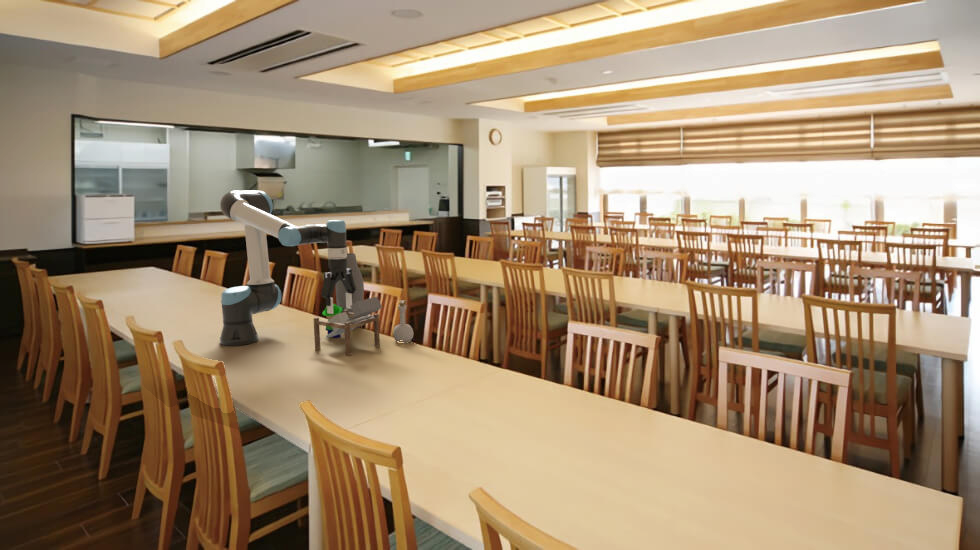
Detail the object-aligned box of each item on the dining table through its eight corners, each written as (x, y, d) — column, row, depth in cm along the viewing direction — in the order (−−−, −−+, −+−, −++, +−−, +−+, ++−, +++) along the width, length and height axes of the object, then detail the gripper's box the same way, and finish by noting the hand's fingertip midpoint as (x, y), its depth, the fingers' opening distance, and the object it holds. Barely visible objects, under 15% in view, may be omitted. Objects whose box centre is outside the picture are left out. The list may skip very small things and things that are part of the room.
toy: (347, 335, 261) (346, 302, 259) (336, 339, 253) (335, 306, 251) (330, 333, 264) (329, 301, 262) (319, 338, 256) (317, 305, 253)
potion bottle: (415, 338, 254) (414, 298, 251) (410, 344, 246) (409, 302, 243) (395, 338, 255) (394, 298, 252) (390, 344, 246) (389, 302, 244)
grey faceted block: (326, 338, 236) (321, 326, 237) (351, 330, 248) (345, 319, 249) (360, 314, 225) (354, 302, 226) (384, 307, 237) (378, 296, 238)
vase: (354, 321, 286) (350, 251, 280) (372, 325, 279) (368, 253, 273) (332, 327, 276) (328, 254, 269) (351, 331, 268) (346, 257, 262)
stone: (334, 333, 240) (328, 320, 241) (343, 330, 244) (337, 317, 245) (343, 326, 237) (337, 314, 238) (351, 324, 241) (345, 311, 242)
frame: (315, 350, 238) (313, 318, 236) (347, 339, 253) (345, 309, 251) (348, 356, 228) (347, 323, 226) (379, 345, 244) (378, 314, 242)
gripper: (323, 261, 225) (326, 317, 229) (363, 255, 245) (365, 306, 248) (309, 260, 229) (312, 315, 232) (350, 254, 248) (352, 305, 252)
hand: (340, 310), depth 240 cm, fingers open, 10 cm apart
